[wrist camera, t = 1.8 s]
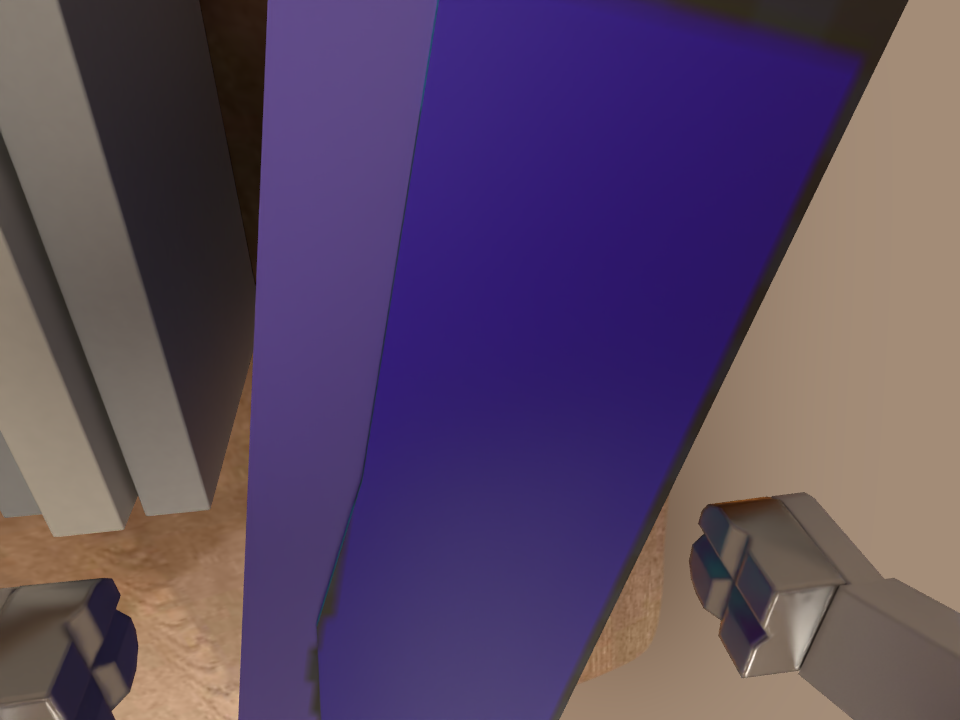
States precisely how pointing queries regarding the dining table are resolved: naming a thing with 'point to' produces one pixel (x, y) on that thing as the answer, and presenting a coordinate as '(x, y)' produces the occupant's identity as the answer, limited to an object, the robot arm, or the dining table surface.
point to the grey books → (115, 264)
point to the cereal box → (503, 320)
